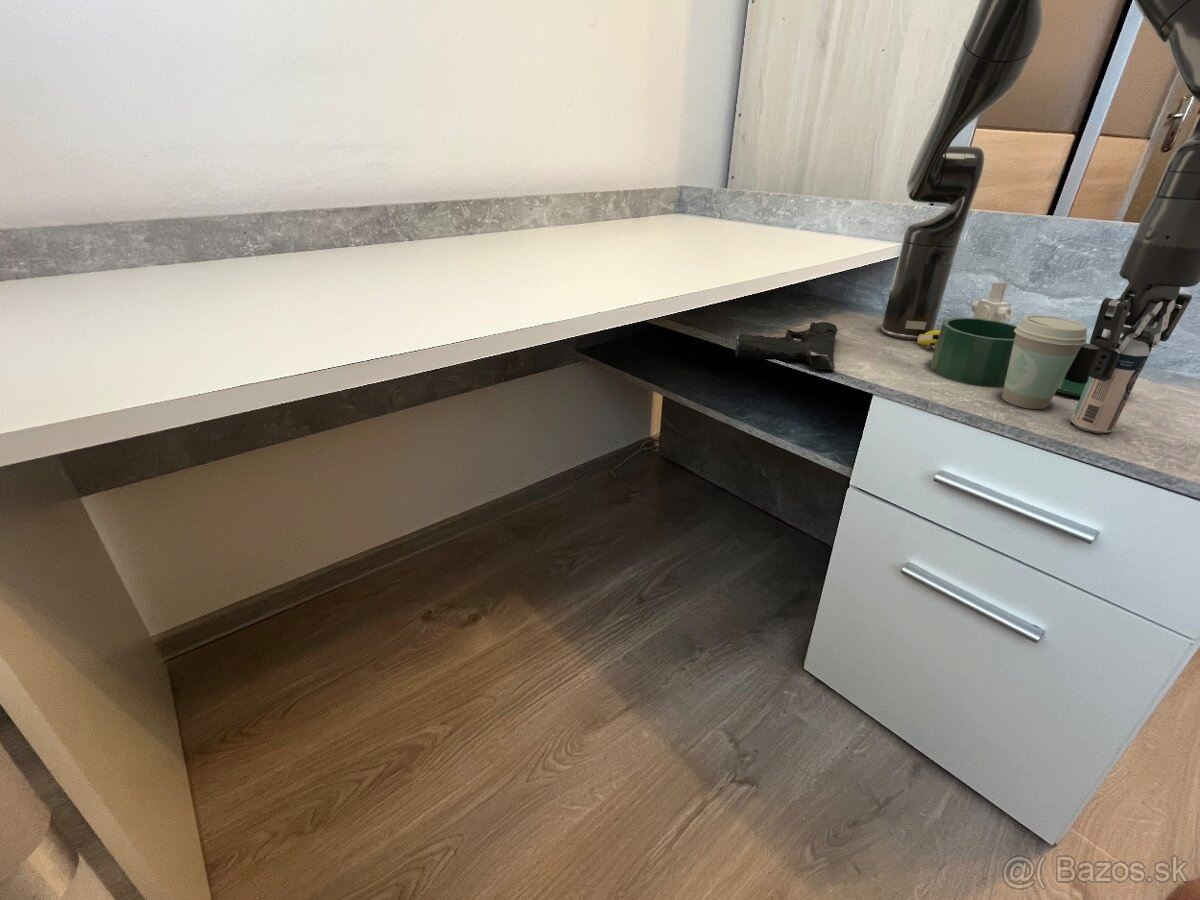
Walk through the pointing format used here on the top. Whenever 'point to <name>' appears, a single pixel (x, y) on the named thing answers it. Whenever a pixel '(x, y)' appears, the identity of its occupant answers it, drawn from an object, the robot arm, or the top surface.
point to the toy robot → (993, 305)
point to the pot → (974, 350)
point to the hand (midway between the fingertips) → (1113, 375)
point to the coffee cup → (1041, 359)
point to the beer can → (1110, 391)
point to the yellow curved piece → (929, 338)
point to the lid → (1079, 371)
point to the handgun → (792, 346)
